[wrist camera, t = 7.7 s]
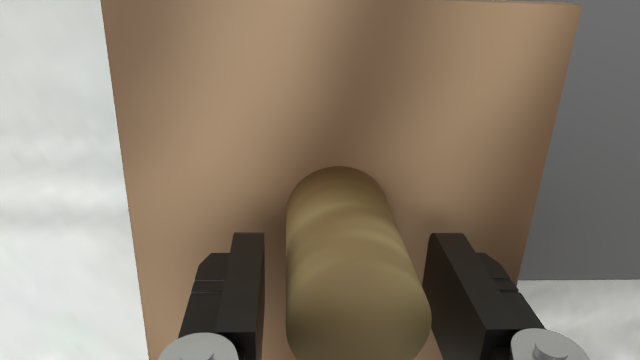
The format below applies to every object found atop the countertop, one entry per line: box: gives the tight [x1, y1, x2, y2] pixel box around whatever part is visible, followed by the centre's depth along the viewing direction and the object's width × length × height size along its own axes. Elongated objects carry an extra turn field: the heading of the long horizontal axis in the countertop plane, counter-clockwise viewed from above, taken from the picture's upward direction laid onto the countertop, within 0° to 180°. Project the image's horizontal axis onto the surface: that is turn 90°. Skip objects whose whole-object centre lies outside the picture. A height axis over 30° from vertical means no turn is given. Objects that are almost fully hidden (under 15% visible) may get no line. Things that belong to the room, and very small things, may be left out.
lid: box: [101, 0, 583, 360], centre depth 13 cm, size 12×12×6 cm
